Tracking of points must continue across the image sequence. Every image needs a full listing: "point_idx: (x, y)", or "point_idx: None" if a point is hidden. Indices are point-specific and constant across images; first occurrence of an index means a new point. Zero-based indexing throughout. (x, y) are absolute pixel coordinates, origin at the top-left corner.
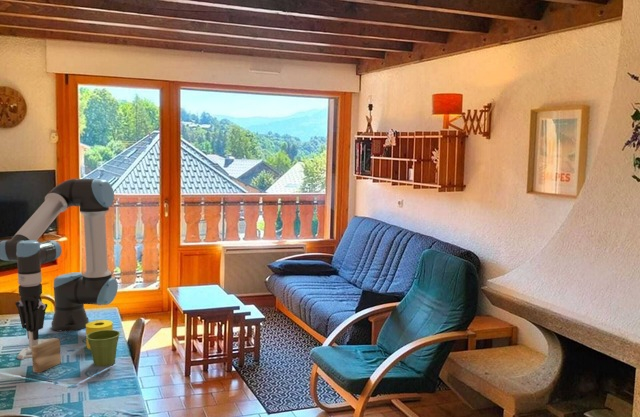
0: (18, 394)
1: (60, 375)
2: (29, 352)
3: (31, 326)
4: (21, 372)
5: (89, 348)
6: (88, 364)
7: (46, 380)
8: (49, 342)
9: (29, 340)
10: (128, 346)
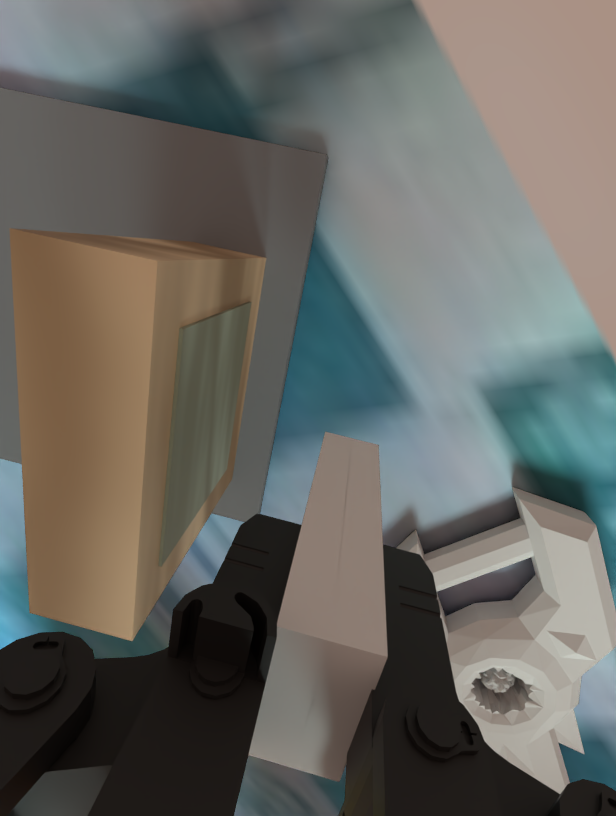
0: None
1: None
2: (526, 607)
3: (221, 812)
4: (385, 256)
5: None
6: (5, 477)
7: (27, 93)
8: (52, 493)
9: (361, 504)
10: None
